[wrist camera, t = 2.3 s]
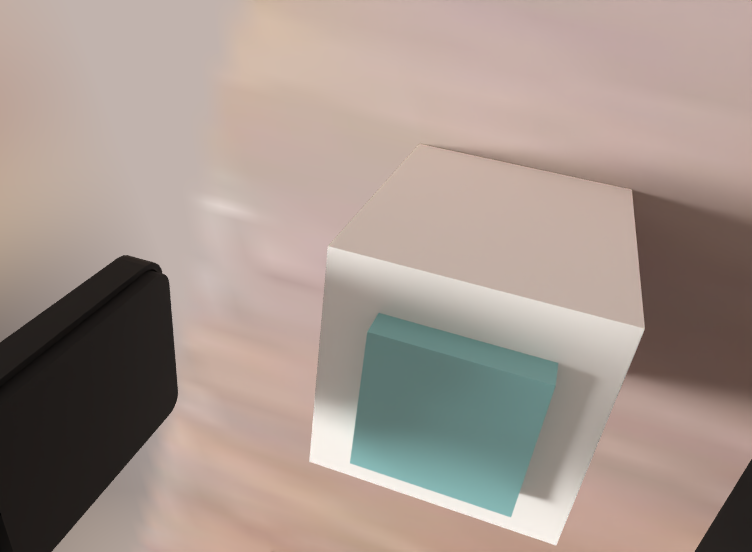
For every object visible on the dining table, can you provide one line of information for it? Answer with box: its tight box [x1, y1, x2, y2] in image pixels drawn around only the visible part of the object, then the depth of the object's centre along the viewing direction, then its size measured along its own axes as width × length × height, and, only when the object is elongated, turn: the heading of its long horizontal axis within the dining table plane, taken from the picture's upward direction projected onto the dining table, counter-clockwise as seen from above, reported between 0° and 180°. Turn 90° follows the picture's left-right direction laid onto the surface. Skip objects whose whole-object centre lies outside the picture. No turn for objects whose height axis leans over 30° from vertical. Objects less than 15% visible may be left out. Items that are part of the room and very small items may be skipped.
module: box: [309, 144, 645, 545], centre depth 13 cm, size 5×5×7 cm
